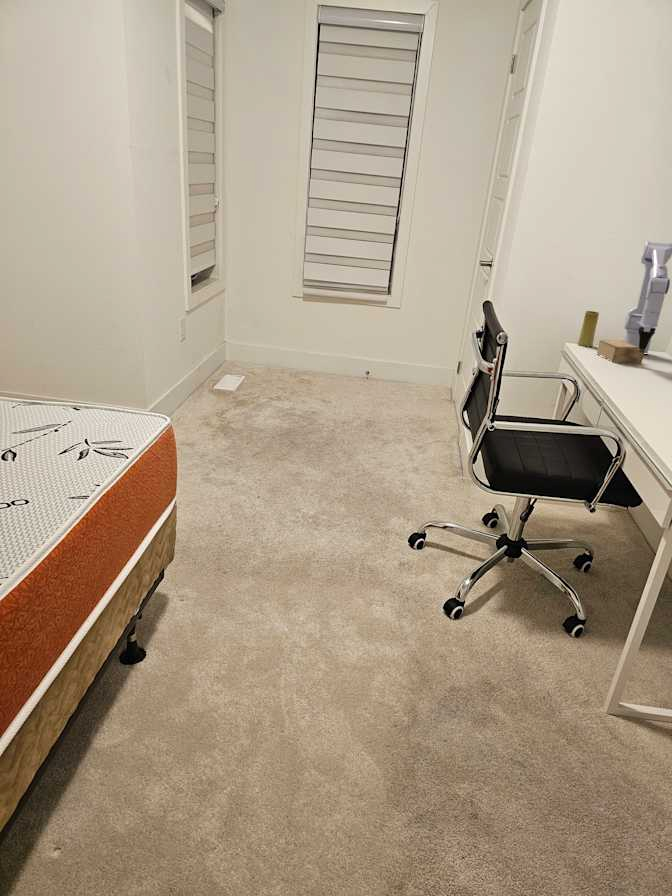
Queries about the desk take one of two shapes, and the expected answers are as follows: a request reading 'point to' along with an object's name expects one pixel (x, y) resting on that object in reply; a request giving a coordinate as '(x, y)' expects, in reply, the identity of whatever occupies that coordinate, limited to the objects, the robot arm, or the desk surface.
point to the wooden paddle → (628, 356)
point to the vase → (588, 328)
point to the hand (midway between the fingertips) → (642, 347)
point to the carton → (612, 347)
